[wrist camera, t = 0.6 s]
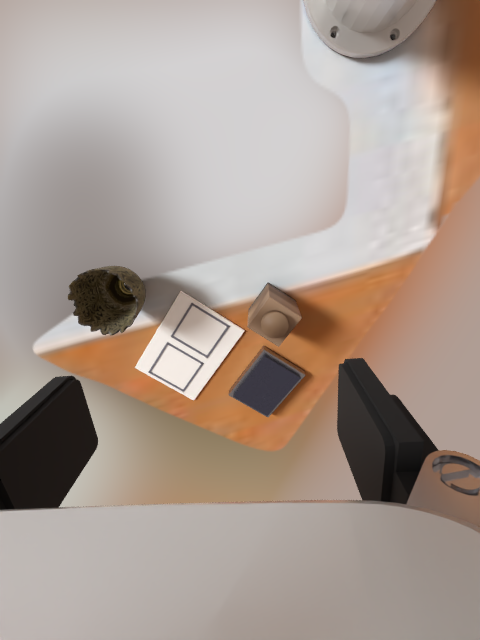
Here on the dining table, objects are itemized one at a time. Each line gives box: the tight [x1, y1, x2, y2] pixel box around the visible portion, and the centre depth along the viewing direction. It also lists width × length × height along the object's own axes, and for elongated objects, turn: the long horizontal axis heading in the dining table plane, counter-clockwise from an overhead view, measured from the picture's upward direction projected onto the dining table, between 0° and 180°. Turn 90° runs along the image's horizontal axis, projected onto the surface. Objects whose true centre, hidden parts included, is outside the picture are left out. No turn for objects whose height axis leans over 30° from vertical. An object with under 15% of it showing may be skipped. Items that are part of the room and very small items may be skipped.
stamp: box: [247, 283, 302, 347], centre depth 37 cm, size 4×4×7 cm
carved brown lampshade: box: [68, 266, 145, 335], centre depth 36 cm, size 8×7×8 cm
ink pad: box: [229, 346, 305, 417], centre depth 44 cm, size 9×7×2 cm
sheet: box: [135, 291, 245, 400], centre depth 43 cm, size 14×10×1 cm
